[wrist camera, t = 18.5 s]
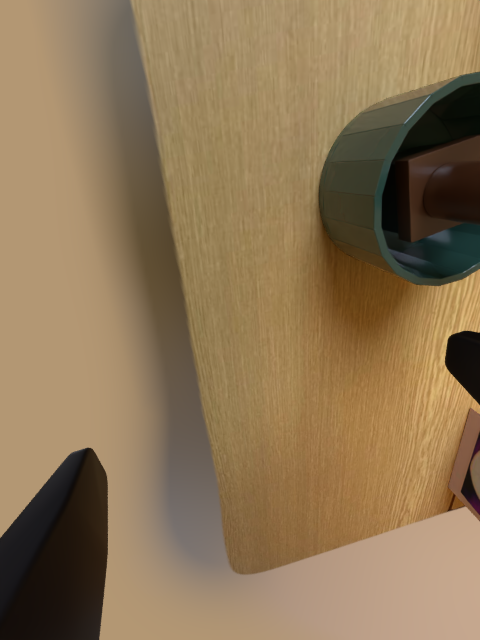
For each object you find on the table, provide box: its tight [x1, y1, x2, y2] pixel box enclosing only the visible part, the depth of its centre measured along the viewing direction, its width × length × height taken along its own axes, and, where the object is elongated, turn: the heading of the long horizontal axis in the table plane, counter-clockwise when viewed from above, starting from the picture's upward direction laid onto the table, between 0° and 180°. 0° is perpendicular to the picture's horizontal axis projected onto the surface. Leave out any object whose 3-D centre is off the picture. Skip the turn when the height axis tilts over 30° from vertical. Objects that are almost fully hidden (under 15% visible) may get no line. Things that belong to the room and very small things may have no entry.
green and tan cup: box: [319, 72, 480, 286], centre depth 18 cm, size 9×9×6 cm
